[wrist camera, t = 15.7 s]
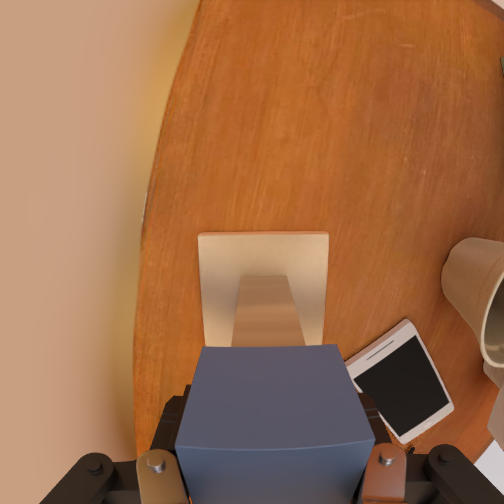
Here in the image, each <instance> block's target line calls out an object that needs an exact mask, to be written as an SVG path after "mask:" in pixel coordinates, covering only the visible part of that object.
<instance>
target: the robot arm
mask: <svg viewBox="0 0 504 504" xmlns="http://www.w3.org/2000/svg"><path fill="white" fill-rule="evenodd" d="M190 388H191V385H189V384H187V385H186V388H185V391H184V394H183V396H173V397H172V398H171V399H170V400H169V401H168V402H167V403H166V405H165V407H164V410H163V414H162V416H161V419H160V422H159V424H158V427H157V430H156V433H155V436H154V439H153V441H152V444H151V447H150V449H149V450H148V451H146V452H144V453H142V454H141V455H140V456H139V457H138V459H137V460H134V461H127V462H112V460H111V459H110V458H109V457H108V456H107V455H105V454H101V453H90V454H86V455H84V456H83V457H81V458H80V459H79V460H78V462H77V463H76V464H75V465H74V466H73V467H72V468H71V469H70V470H69V472H68V473H67V474H66V475H65V476H64V477H63V478H62V479H61V480H60V481H59V483H58V484H57V485H56V486H55V487H54V488H53V489H52V490H51V492H49V494H48V495H47V496H46V497H45V498H44V499H43V500H42V501H41V502H40V503H39V504H191V503H190V500H189V491H188V488H187V485H186V482H185V479H184V476H183V473H182V469H181V466H180V463H179V459H178V456H177V453H176V449H175V442H176V438H177V435H178V431H179V428H180V424H181V420H182V417H183V413H184V410H185V406H186V403H187V399H188V395H189V392H190ZM357 394H358V396H359V399H360V401H361V404H362V406H363V409H364V411H365V414H366V416H367V419H368V421H369V424H370V426H371V429H372V431H373V434H374V436H375V439H376V440H375V443H374V446H373V448H372V451H371V454H370V456H369V459H368V461H367V464H366V466H365V469H364V471H363V474H362V476H361V478H360V481H359V483H358V485H357V488H356V490H355V492H354V494H353V496H352V499H351V501H350V504H504V495H503V494H502V493H501V492H500V491H499V490H498V489H497V488H496V487H495V486H494V485H493V484H492V483H491V482H490V481H489V480H488V479H487V478H486V477H485V476H484V475H483V474H482V473H481V472H480V471H479V470H478V469H477V468H476V467H475V466H474V465H473V464H472V463H471V462H470V461H469V460H468V459H467V458H466V457H465V456H464V454H463V453H462V452H461V451H460V450H459V449H457V448H456V447H454V446H452V445H448V444H442V445H438V446H435V447H434V448H433V449H431V451H430V452H429V454H409V453H405V451H404V450H403V449H402V448H401V447H400V446H398V445H396V444H393V443H392V441H391V439H390V437H389V434H388V432H387V430H386V427H385V425H384V423H383V421H382V418H381V417H380V414H379V412H378V410H377V407H376V405H375V403H374V401H373V399H372V398H371V397H369V396H368V395H367V394H366V393H365V392H361V393H357Z"/></svg>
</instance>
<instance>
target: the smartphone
mask: <svg viewBox="0 0 504 504" xmlns="http://www.w3.org/2000/svg"><path fill="white" fill-rule="evenodd" d="M344 363H345V365H346V368H347V370H348V372H349V375H350V377H351V380H352V382H353V384H354V386H355V387H356V389H357V390H358V391H359V392H360V393H361V392H365V393H366V394H367V395H368V396H369V397H371V398H372V399H373V401H374V403H375V405H376V407H377V410H378V412H379V414H380V417H381V418H382V420H383V422H384V423H385V424H386V425H387V426H388V428H389V429H390V430H391V431H392V433H393V434H394V435H395V436H396V437H397V439H398V440H399V441H400V442H401V443H402V444H406V443H407V442H409V441H410V440H412V439H414V438H415V437H417V436H418V435H420V434H421V433H423V432H424V431H426V430H427V429H429V428H430V427H432V426H433V425H434V424H436V423H437V422H439V421H440V420H441V419H443V418H444V417H445V416H447V415H448V414H449V413H451V412H452V411H453V410H454V406H453V403H452V401H451V399H450V397H449V394H448V392H447V390H446V388H445V386H444V384H443V382H442V379H441V377H440V375H439V373H438V371H437V369H436V367H435V365H434V363H433V361H432V359H431V357H430V355H429V353H428V351H427V349H426V347H425V345H424V343H423V341H422V340H421V338H420V336H419V334H418V332H417V330H416V328H415V326H414V325H413V324H412V323H411V322H410V320H408V319H404V320H403V321H401V322H400V323H399V324H398V325H396V326H395V327H394V328H392V329H391V330H390V331H388V332H387V333H386V334H384V335H383V336H381V337H380V338H379V339H377V340H376V341H375V342H373V343H372V344H370V345H369V346H367V347H366V348H365V349H363V350H362V351H360V352H359V353H357V354H356V355H354V356H353V357H351V358H350V359H348V360H347V361H345V362H344Z"/></svg>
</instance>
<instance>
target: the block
mask: <svg viewBox="0 0 504 504" xmlns="http://www.w3.org/2000/svg"><path fill="white" fill-rule="evenodd" d="M375 440H376V439H375V436H374V434H373V431H372V429H371V426H370V424H369V421H368V419H367V416H366V414H365V411H364V409H363V406H362V404H361V401H360V399H359V396H358V394H357V392H356V389H355V387H354V384H353V382H352V380H351V377H350V375H349V372H348V370H347V368H346V365H345V363H344V361H343V358H342V356H341V354H340V351H339V349H338V347H337V344H328V345H308V346H279V347H211V346H203V347H202V350H201V354H200V357H199V361H198V364H197V368H196V371H195V374H194V378H193V381H192V385H191V388H190V392H189V395H188V399H187V403H186V406H185V410H184V413H183V417H182V420H181V424H180V428H179V431H178V435H177V438H176V442H175V449H176V453H177V456H178V459H179V463H180V466H181V469H182V473H183V476H184V479H185V482H186V485H187V488H188V491H189V494H190V497H191V500H192V503H193V504H349V503H350V501H351V499H352V496H353V494H354V492H355V490H356V488H357V485H358V483H359V481H360V478H361V476H362V474H363V471H364V469H365V466H366V464H367V461H368V459H369V456H370V454H371V451H372V448H373V446H374V443H375Z"/></svg>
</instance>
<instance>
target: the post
mask: <svg viewBox="0 0 504 504" xmlns="http://www.w3.org/2000/svg"><path fill="white" fill-rule="evenodd" d="M197 238H198V256H199V272H200V287H201V301H202V313H203V325H204V337H205V346H211V347H279V346H308V345H322V337H323V326H324V315H325V302H326V288H327V272H328V253H329V234H328V233H327V232H326V231H252V232H200V233H199V235H198V236H197Z"/></svg>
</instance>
